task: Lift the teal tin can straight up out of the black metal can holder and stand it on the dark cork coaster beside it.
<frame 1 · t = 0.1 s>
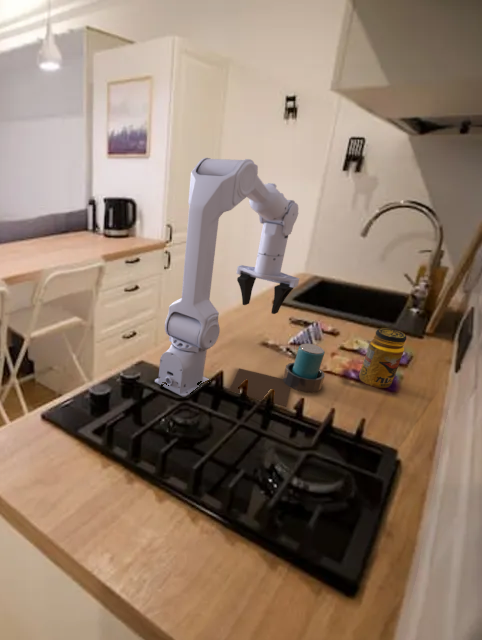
hand: (259, 308, 100), 10 cm above the countertop, tool pointing down, fingers open, 7 cm apart
condiment: (368, 382, 88), on the countertop
can: (301, 382, 86), point 1 cm above the countertop, touching coaster, holder
coaster: (260, 388, 85), on the countertop
holder: (301, 385, 87), on the countertop
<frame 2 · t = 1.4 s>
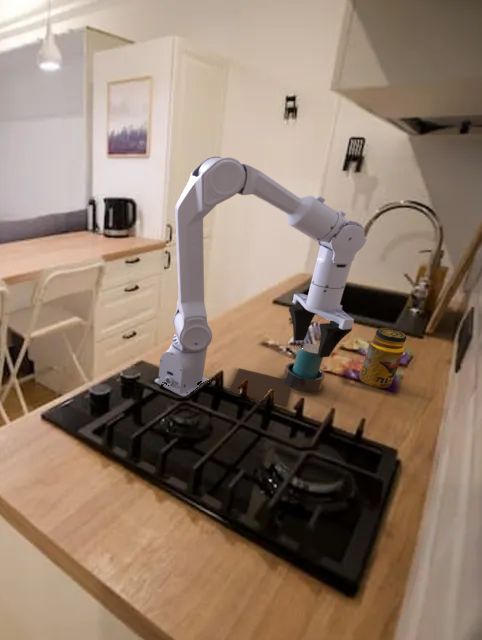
hand: (310, 347, 83), 9 cm above the countertop, tool pointing down, fingers open, 7 cm apart
nothing on the countertop moved.
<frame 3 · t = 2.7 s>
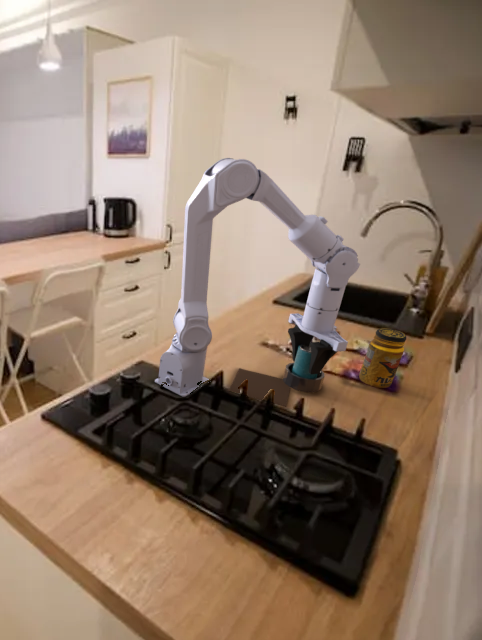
hand: (306, 367, 85), 4 cm above the countertop, tool pointing down, fingers closed on can, 5 cm apart
can: (301, 382, 86), point 1 cm above the countertop, touching coaster, gripper
everything else where it was.
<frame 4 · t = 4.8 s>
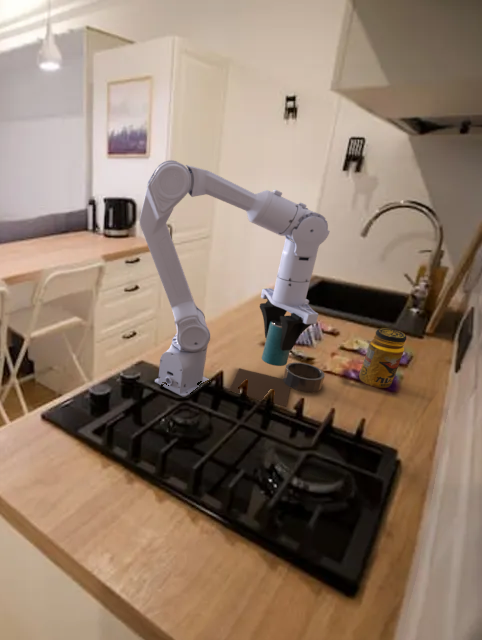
hand: (278, 343, 81), 10 cm above the countertop, tool pointing down, fingers closed on can, 5 cm apart
can: (274, 360, 83), point 6 cm above the countertop, touching gripper
everything else where it was.
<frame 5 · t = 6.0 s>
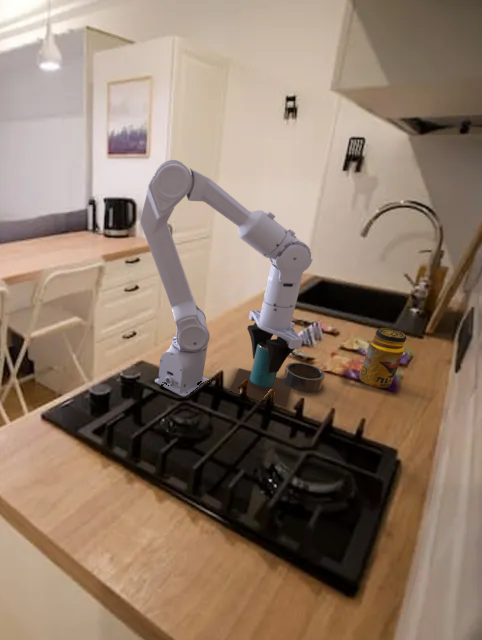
hand: (265, 365, 83), 6 cm above the countertop, tool pointing down, fingers closed on can, 5 cm apart
can: (261, 381, 85), point 2 cm above the countertop, touching gripper
everything else where it was.
when the fingers open (4 cm above the countertop, at t = 6.9 s): can stays where it is, resting on coaster.
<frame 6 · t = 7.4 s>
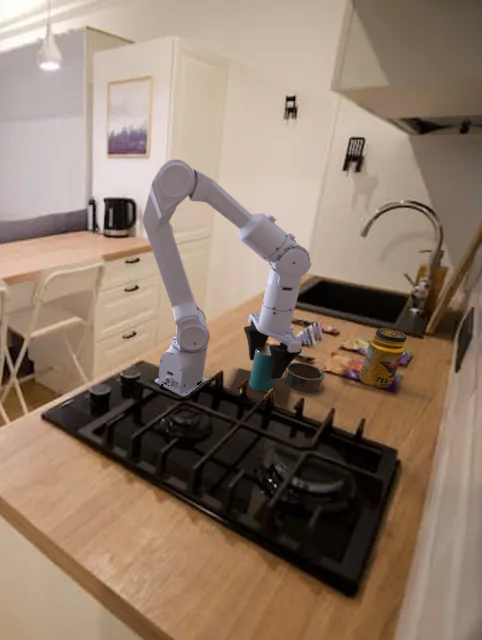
hand: (264, 368, 83), 5 cm above the countertop, tool pointing down, fingers open, 7 cm apart
can: (260, 385, 85), point 1 cm above the countertop, touching coaster
everything else where it was.
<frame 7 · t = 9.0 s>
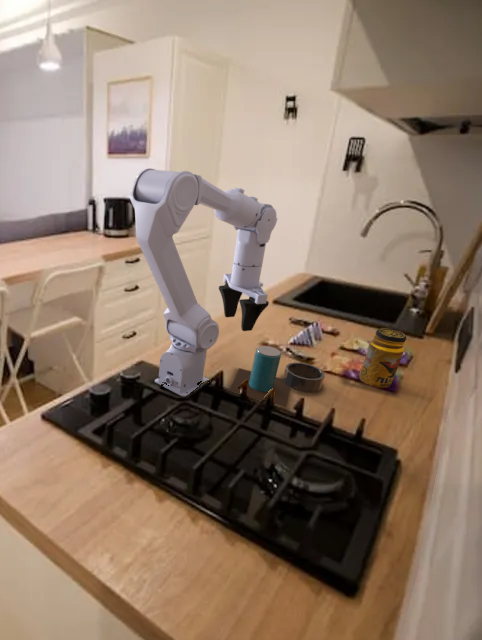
hand: (237, 323, 90), 10 cm above the countertop, tool pointing down, fingers open, 7 cm apart
nothing on the countertop moved.
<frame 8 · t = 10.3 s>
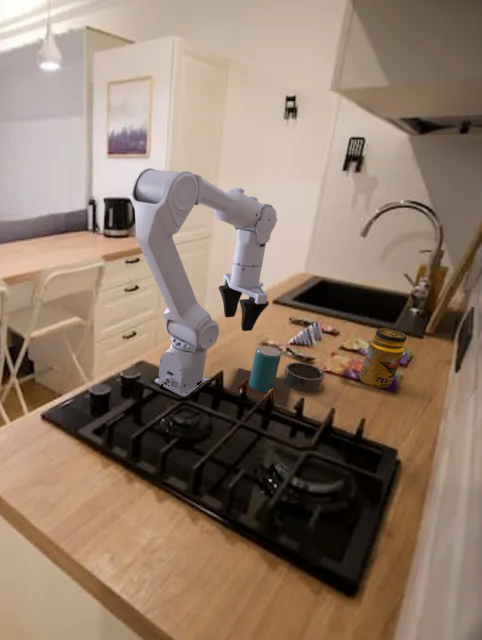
hand: (237, 323, 90), 10 cm above the countertop, tool pointing down, fingers open, 7 cm apart
nothing on the countertop moved.
at the end: can touching coaster; can 0.0 cm off-centre on the coaster, point 0.6 cm above the coaster's base; can tilted 0° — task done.
